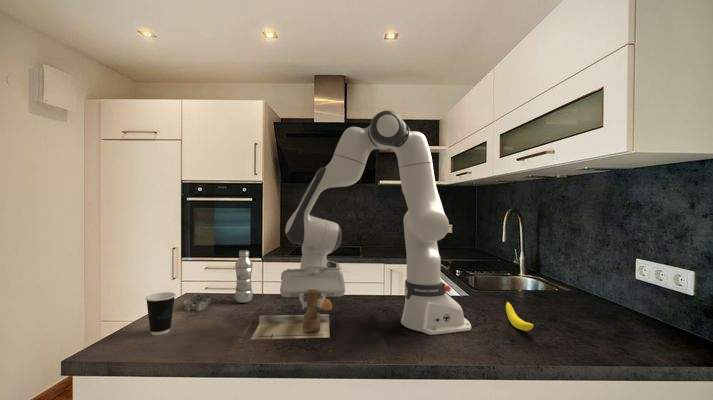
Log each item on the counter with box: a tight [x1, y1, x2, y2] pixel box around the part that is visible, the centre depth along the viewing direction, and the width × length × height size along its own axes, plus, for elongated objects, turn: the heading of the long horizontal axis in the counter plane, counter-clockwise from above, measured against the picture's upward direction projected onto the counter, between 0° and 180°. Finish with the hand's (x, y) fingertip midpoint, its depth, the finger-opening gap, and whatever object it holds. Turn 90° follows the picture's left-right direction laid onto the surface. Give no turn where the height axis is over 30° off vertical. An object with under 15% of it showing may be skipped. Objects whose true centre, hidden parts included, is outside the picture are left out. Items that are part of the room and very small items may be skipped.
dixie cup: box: [145, 291, 176, 336], centre depth 101 cm, size 8×8×11 cm
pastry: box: [317, 297, 333, 311], centre depth 123 cm, size 9×7×4 cm
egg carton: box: [183, 293, 213, 312], centre depth 125 cm, size 11×8×4 cm
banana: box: [505, 300, 534, 332], centre depth 108 cm, size 3×19×6 cm, turn 178°
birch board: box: [250, 313, 330, 340], centre depth 101 cm, size 22×13×4 cm, turn 95°
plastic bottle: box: [234, 249, 254, 304], centre depth 131 cm, size 6×7×20 cm
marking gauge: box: [303, 290, 322, 332], centre depth 101 cm, size 5×8×11 cm, turn 5°
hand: (312, 308), depth 101 cm, fingers closed on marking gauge, 3 cm apart
